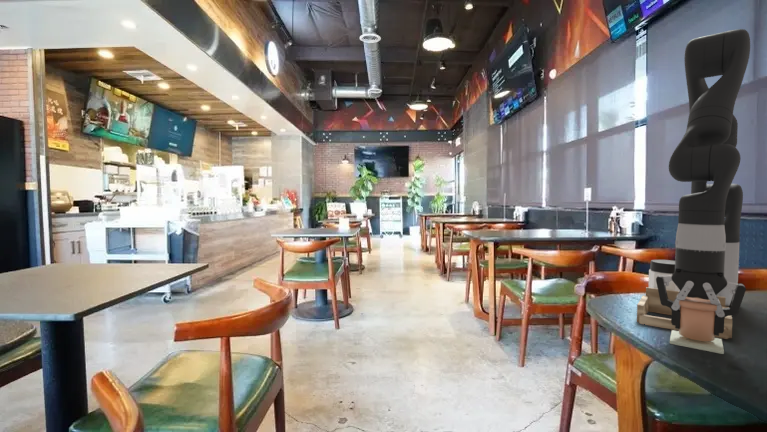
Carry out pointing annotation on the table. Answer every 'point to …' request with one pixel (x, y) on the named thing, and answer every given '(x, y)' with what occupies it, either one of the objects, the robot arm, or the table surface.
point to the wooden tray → (670, 311)
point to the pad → (697, 343)
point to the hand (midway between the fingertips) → (696, 330)
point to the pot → (697, 319)
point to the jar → (662, 273)
